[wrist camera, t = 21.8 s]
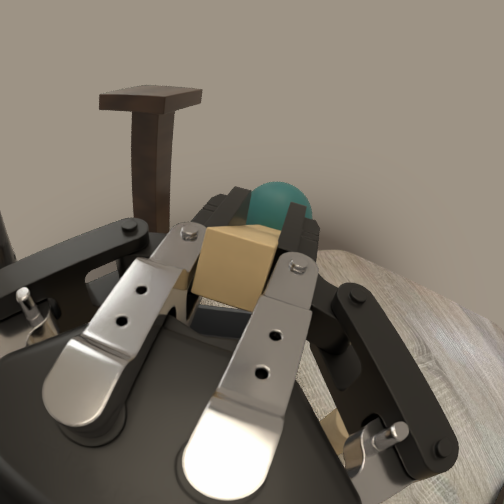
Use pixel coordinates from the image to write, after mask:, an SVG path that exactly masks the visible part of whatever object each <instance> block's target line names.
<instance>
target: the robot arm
mask: <svg viewBox="0 0 504 504" xmlns="http://www.w3.org/2000/svg"><path fill="white" fill-rule="evenodd" d="M251 193H252V192H251V190H247V189H244V188H240V187H236V186H235V187H234V188H233V189H232V190H231V191H230V193H229V194H228V195H223V194H219V195H217V196H214V197H212V198H211V199H210V200H209V201H208V202H207V204H206V205H205V206H204V207H203V209H201V210H200V211H199V212H198V214H197V215H196V216H195V217H194V218H193V219H192V221H191V222H183V223H179V224H176V225H175V226H173V227H172V228H171V230H170V231H169V232H168V233H153V232H149V227H148V224H147V222H145V221H144V220H142V219H139V218H125V219H122V220H119V221H116V222H113V223H110V224H108V225H105V226H102V227H99V228H97V229H94V230H91V231H89V232H86V233H84V234H81V235H79V236H76V237H74V238H71V239H68V240H66V241H63V242H61V243H58V244H56V245H54V246H52V247H49V248H47V249H44V250H42V251H39V252H37V253H35V254H33V255H30V256H28V257H26V258H23V259H21V260H19V261H17V259H16V256H15V254H14V251H13V249H12V246H11V243H10V240H9V237H8V234H7V232H6V228H5V225H4V222H3V219H2V216H1V212H0V504H380V503H382V502H383V501H385V500H387V499H389V498H390V497H392V496H393V495H395V494H397V493H398V492H400V491H401V490H403V489H404V488H406V487H407V486H409V485H410V484H412V483H415V482H418V481H421V480H424V479H427V478H430V477H433V476H435V475H438V474H441V473H443V472H446V471H448V470H449V469H450V468H452V466H453V465H454V464H455V462H456V460H457V457H458V452H459V446H458V441H457V438H456V436H455V434H454V432H453V430H452V428H451V426H450V424H449V422H448V420H447V418H446V416H445V414H444V412H443V410H442V408H441V406H440V405H439V403H438V401H437V399H436V397H435V395H434V393H433V392H432V390H431V388H430V386H429V384H428V383H427V381H426V379H425V377H424V376H423V374H422V372H421V371H420V369H419V367H418V365H417V364H416V362H415V360H414V359H413V357H412V355H411V354H410V352H409V350H408V349H407V347H406V345H405V344H404V342H403V341H402V339H401V337H400V336H399V334H398V333H397V331H396V329H395V328H394V326H393V325H392V323H391V322H390V320H389V319H388V317H387V316H386V314H385V312H384V311H383V309H382V308H381V306H380V305H379V303H378V302H377V300H376V299H375V298H374V296H373V295H372V293H371V292H370V291H369V290H368V289H366V288H365V287H363V286H361V285H359V284H356V283H344V284H342V285H340V286H339V288H337V287H335V286H334V285H332V284H330V283H328V282H327V281H326V280H324V279H323V278H322V277H321V276H320V275H319V273H318V271H319V269H318V266H317V264H316V258H317V250H318V241H319V231H320V228H319V226H318V224H317V222H316V221H315V220H312V219H309V218H306V217H305V213H306V208H307V206H305V205H301V204H298V203H294V202H290V205H289V208H288V211H287V214H286V218H285V221H284V224H283V227H282V230H281V233H280V236H279V239H278V246H277V250H276V253H275V257H274V260H273V264H272V268H271V271H270V275H269V278H268V282H267V285H266V288H265V291H264V293H263V294H262V293H261V295H260V297H259V299H258V301H257V303H256V305H255V307H254V310H253V312H252V314H251V316H250V318H249V321H248V323H247V325H246V327H245V329H244V331H243V334H242V336H241V338H240V340H239V339H229V338H220V337H211V336H204V335H201V334H199V333H198V332H196V331H195V330H193V329H191V328H190V325H191V322H192V320H193V318H194V315H195V313H196V311H197V308H198V306H199V304H200V302H201V299H202V296H199V295H196V294H193V293H192V292H191V289H192V285H193V280H194V276H195V272H196V268H197V264H198V260H199V256H200V252H201V248H202V244H203V240H204V236H205V232H206V229H207V227H221V226H240V225H246V221H247V215H248V210H249V205H250V199H251ZM114 260H116V264H117V270H116V271H114V272H112V273H109V274H107V275H105V276H103V277H101V278H98V279H96V280H94V281H91V282H89V283H85V277H86V275H87V274H88V272H90V271H91V270H93V269H96V268H98V267H100V266H102V265H105V264H107V263H110V262H112V261H114ZM88 322H89V323H88ZM86 323H87V324H86ZM306 340H307V341H309V342H310V349H311V351H312V353H313V356H314V358H315V360H316V362H317V365H318V367H319V369H320V371H321V374H322V376H323V378H324V380H325V383H326V385H327V387H328V389H329V392H330V394H331V396H332V398H333V401H334V403H335V405H336V407H337V410H338V412H339V414H340V416H341V419H342V421H343V423H344V426H345V428H346V430H347V432H348V435H349V437H348V438H347V439H346V441H345V443H344V447H343V455H344V460H345V468H344V466H343V465H342V463H341V461H340V459H339V457H338V455H337V454H336V452H335V450H334V448H333V446H332V444H331V443H330V441H329V439H328V437H327V435H326V433H325V432H324V430H323V428H322V426H321V424H320V422H319V420H318V418H317V417H316V415H315V413H314V411H313V409H312V407H311V405H310V403H309V402H308V400H307V398H306V396H305V394H304V392H303V390H302V388H301V387H300V385H299V384H298V382H297V381H296V380H295V378H296V375H297V371H298V367H299V364H300V360H301V356H302V353H303V349H304V345H305V341H306Z"/></svg>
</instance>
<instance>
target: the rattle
mask: <svg viewBox="0 0 504 504" xmlns="http://www.w3.org/2000/svg"><path fill="white" fill-rule="evenodd" d="M290 202H294V203H298V204H301V205H305V206H307V208H306V213H305V217H306V218H309V219H312V210H311V206H310V203H309V201H308V199H307V198H306V196H305V195H304V194H303V193H302V192H301V191H300V190H299V189H298V188H296V187H294V186H293V185H290V184H287V183H284V182H269V183H266V184H263V185H261V186H259V187H257V188H256V189H255V190H253V191H252V193H251V199H250V205H249V210H248V215H247V221H246V225H240V226H221V227H207V229H206V232H205V236H204V240H203V244H202V248H201V252H200V256H199V260H198V264H197V268H196V272H195V276H194V280H193V285H192V289H191V292H192V293H193V294H196V295H199V296H202V297H205V298H208V299H211V300H214V301H217V302H220V303H223V304H226V305H229V306H232V307H235V308H238V309H242V310H245V311H248V312H251V313H252V312H253V310H254V307H255V305H256V303H257V301H258V299H259V297H260V295H261V293H262V294H263V293H264V291H265V288H266V285H267V282H268V278H269V275H270V271H271V268H272V264H273V260H274V257H275V253H276V250H277V246H278V239H279V236H280V233H281V230H282V227H283V224H284V221H285V218H286V214H287V211H288V208H289V205H290Z"/></svg>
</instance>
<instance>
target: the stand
mask: <svg viewBox="0 0 504 504" xmlns="http://www.w3.org/2000/svg"><path fill="white" fill-rule="evenodd" d="M201 97H202V89H195V88H185V87H172V86H156V85H141V86H136V87H131V88H125V89H121V90H116V91H111V92H106V93H103V94H100V95H99V110H115V111H130V112H131V111H132V131H131V134H132V135H131V167H132V196H133V212H134V218H139V219H142V220H144V221H145V222H147V224H148V227H149V232H153V233H168V232H169V219H170V218H169V217H170V213H169V212H170V175H171V155H172V139H173V125H174V114H175V111H176V110H179V109H183V108H186V107H189V106H193V105H196V104H200V103H201Z"/></svg>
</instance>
